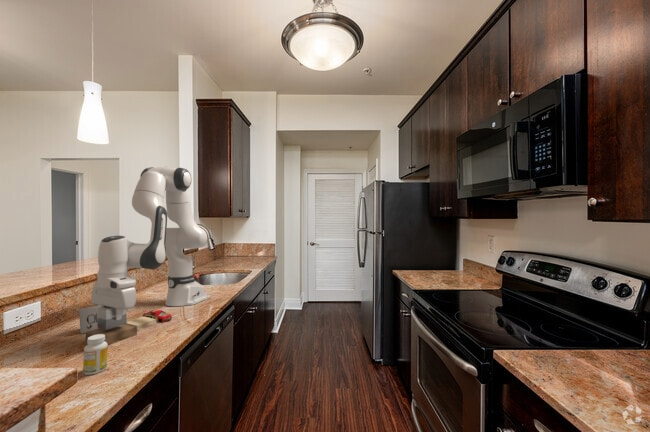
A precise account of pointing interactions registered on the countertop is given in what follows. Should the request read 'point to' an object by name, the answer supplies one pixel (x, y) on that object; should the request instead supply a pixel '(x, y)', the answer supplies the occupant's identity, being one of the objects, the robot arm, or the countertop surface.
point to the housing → (110, 318)
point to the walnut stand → (114, 333)
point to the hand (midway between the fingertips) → (112, 318)
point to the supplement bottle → (95, 355)
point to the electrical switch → (88, 318)
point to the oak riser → (142, 322)
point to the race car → (158, 315)
